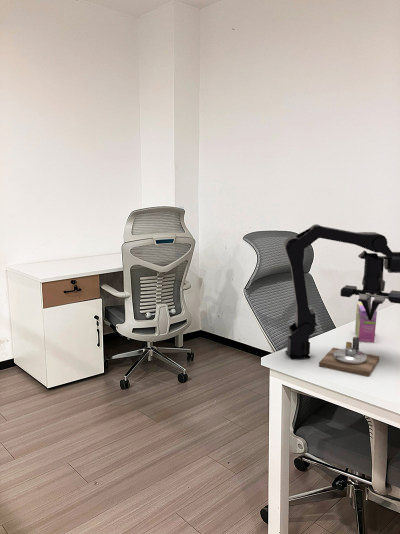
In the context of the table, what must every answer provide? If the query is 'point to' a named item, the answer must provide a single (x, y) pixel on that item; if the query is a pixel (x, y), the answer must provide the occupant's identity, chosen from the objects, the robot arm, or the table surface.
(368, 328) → the box
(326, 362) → the base plate
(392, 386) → the table surface
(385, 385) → the table surface
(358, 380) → the table surface
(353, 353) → the flange
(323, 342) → the table surface
